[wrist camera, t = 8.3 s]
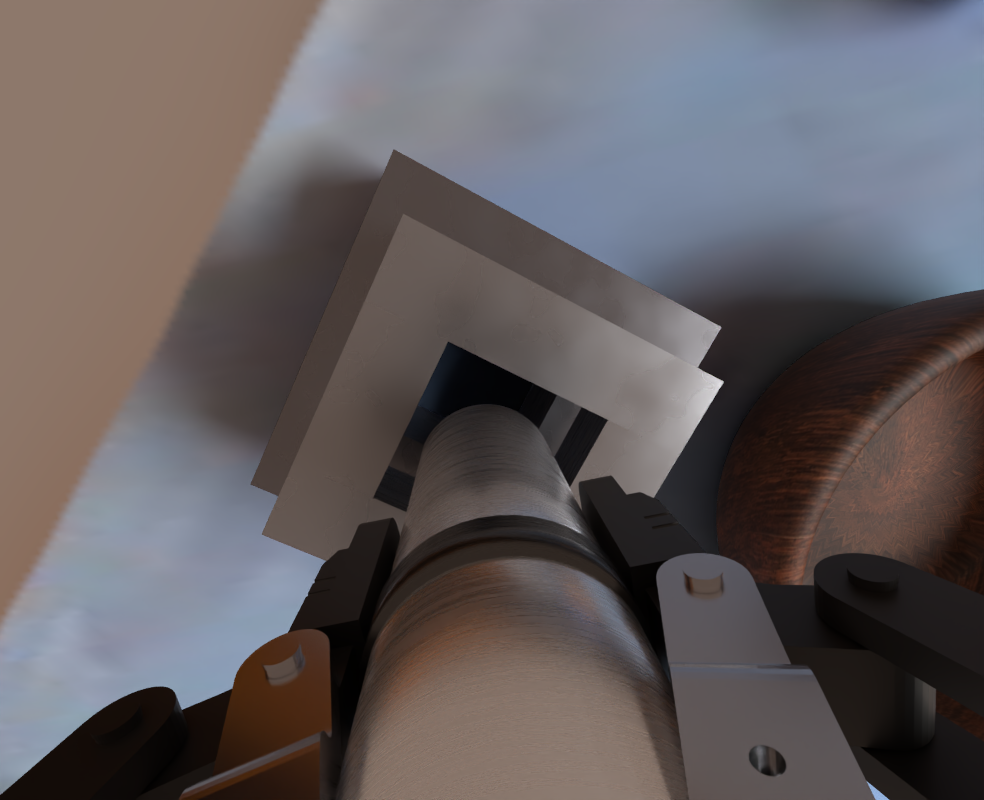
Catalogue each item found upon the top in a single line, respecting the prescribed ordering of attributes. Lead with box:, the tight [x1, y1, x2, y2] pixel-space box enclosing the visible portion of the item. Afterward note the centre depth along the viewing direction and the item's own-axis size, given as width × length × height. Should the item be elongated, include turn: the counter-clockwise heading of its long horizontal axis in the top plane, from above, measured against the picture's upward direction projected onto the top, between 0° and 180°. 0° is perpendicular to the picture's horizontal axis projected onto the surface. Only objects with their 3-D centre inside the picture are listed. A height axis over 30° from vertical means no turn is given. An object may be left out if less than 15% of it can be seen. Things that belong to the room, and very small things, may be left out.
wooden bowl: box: [716, 290, 984, 741], centre depth 26 cm, size 25×25×10 cm
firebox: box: [251, 150, 723, 561], centre depth 22 cm, size 16×16×13 cm
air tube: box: [335, 404, 689, 800], centre depth 8 cm, size 4×4×14 cm
